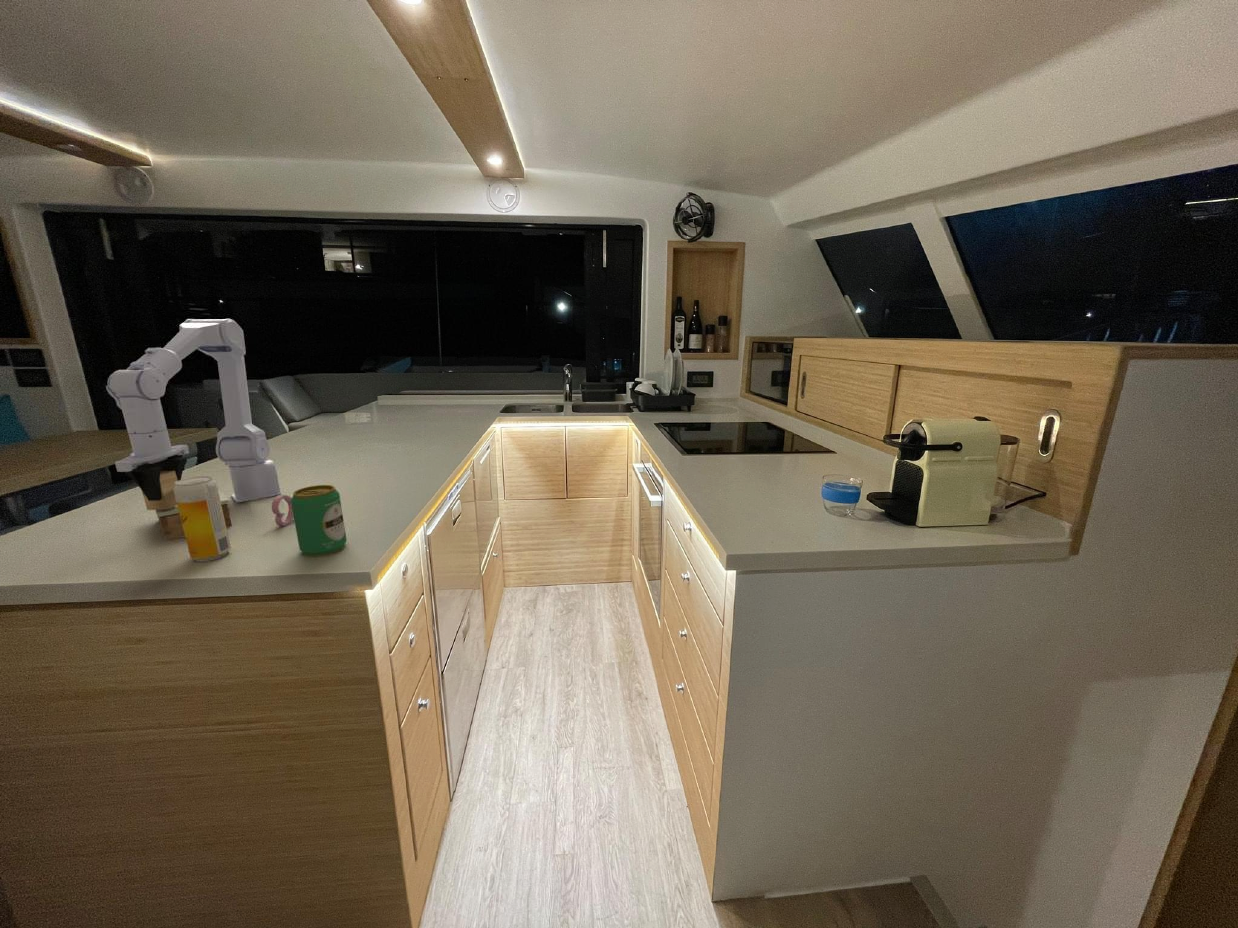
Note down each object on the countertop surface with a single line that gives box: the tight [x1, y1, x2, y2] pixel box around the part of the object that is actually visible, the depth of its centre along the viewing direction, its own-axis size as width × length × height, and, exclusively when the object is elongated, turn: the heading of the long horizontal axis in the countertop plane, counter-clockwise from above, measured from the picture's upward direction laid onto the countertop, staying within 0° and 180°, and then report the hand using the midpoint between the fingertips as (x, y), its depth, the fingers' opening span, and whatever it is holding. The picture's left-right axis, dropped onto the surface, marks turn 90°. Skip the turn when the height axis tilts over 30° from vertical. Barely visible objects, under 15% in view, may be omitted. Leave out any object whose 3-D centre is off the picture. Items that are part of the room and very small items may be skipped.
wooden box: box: [157, 504, 233, 541], centre depth 111 cm, size 11×16×5 cm
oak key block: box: [141, 471, 178, 511], centre depth 102 cm, size 4×4×7 cm
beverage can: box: [291, 484, 348, 558], centre depth 96 cm, size 8×8×12 cm
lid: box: [154, 485, 229, 518], centre depth 109 cm, size 12×16×4 cm
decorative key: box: [271, 494, 294, 527], centre depth 117 cm, size 7×1×20 cm
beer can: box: [173, 475, 232, 562], centre depth 93 cm, size 6×6×15 cm
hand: (164, 496), depth 102 cm, fingers closed on oak key block, 4 cm apart
